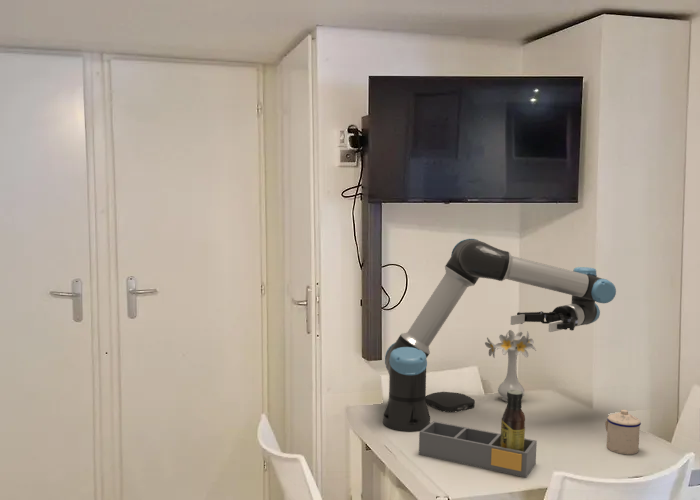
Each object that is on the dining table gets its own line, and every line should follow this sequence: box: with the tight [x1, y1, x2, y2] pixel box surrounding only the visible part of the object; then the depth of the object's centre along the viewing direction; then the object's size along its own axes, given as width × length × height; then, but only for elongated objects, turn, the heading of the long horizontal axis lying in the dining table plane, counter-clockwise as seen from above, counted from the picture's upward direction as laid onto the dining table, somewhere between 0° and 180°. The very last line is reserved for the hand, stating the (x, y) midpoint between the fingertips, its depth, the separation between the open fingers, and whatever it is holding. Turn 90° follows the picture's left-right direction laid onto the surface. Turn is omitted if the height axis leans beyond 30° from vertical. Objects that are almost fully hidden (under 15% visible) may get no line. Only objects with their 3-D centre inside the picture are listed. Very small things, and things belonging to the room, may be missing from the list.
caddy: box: [418, 420, 538, 478], centre depth 186 cm, size 30×11×6 cm, turn 61°
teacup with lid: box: [604, 409, 642, 455], centre depth 197 cm, size 12×9×12 cm
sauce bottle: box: [500, 390, 526, 452], centre depth 181 cm, size 6×6×20 cm
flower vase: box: [484, 329, 537, 403], centre depth 240 cm, size 13×18×25 cm
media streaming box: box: [425, 391, 476, 413], centre depth 235 cm, size 15×15×3 cm
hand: (530, 323), depth 206 cm, fingers open, 13 cm apart
